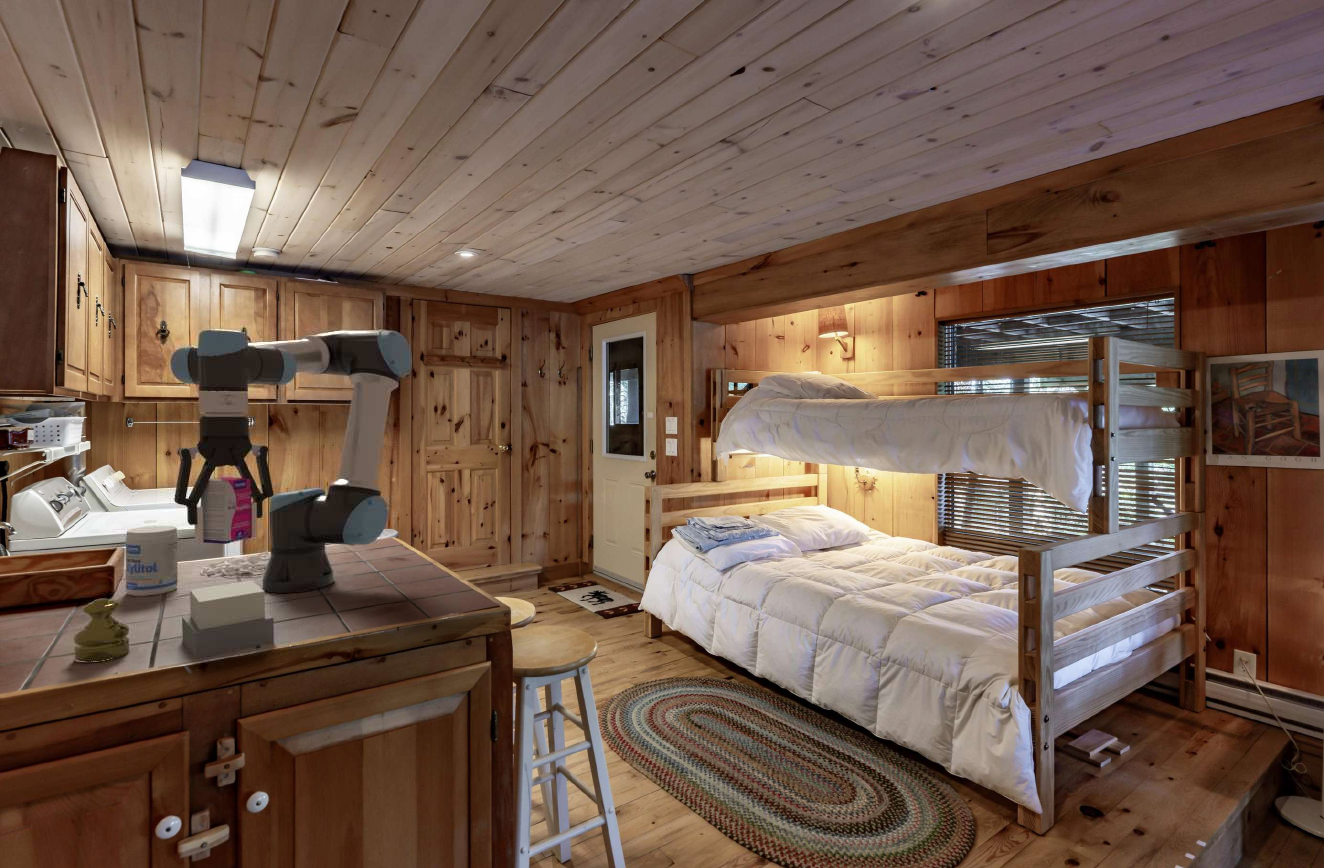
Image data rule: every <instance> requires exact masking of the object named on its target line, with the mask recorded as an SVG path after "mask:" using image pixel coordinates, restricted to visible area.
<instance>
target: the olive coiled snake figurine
mask: <svg viewBox="0 0 1324 868" xmlns="http://www.w3.org/2000/svg"><path fill="white" fill-rule="evenodd" d="M119 607H120V602H119V601H117V600H114V599H108V598H106V597H105V598H104V597H103V598H96V599H94V600H93V601H92V602H89V603H87V604H86V605H84V606H82V609H81V610H82V613H85V614H87V615H88V616H90V618H91V619H90V621H88V622H87V624H85V625H84V627H83V628H82V629H80V630H78V631H77V632H76V633H75V634H74V635H73V643H74V644H76V646H74V648H73V652H74V660H75V659H76V660H79V661H85V662H86V661H87V662H91V661H92V662H93V661H102V660H107V659H111V658H115V659H117V658H116V657H118V656H120V657H122V656H125V655H126V654H127V653H128V652H129V651H130V638H129V637H127V636H128V635H129V632H130V628H129V626H128V625H127V624H125V623H122V622H119V620H117V619H115V618H113V616H112V614H113V612H114V611H115V610H117V609H118V608H119ZM121 655H122V656H121ZM118 658H119V657H118ZM111 660H112V659H111ZM107 661H108V660H107Z"/></svg>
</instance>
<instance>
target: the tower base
mask: <svg viewBox="0 0 1324 868" xmlns="http://www.w3.org/2000/svg"><path fill="white" fill-rule="evenodd" d="M181 618H182V619H181V623H182V624H181V625H182V626H181V628H182V629H181V631H182V642H183V641H184V642H183V644H184V645H185V644H186V645H185V646H186V647H188V648H187V649H188V651H189V652H190V653H191V654H192V656H193V657H194V658H195V660H198V659H203V658H208V657H212V656H217V655H221V654H226V653H230V652H235V651H239V650H245V649H248V648H254V647H257V646H263V645H266V644H271V643H275V636H274V634H275V632H274V631H275V627H274V617H273V616H272V615H271V614H269V613H268V612H267V611H266V610H265V618H262V619H257V620H251V621H246V622H241V623H235V624H230V625H225V626H220V627H214V628H209V629H204V630H199V628H198V627H197V625H196V624H195V622H194V621H193V619H192V618H191V614H190V615H184V616H181Z"/></svg>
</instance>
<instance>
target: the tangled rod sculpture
mask: <svg viewBox="0 0 1324 868" xmlns="http://www.w3.org/2000/svg"><path fill="white" fill-rule="evenodd" d="M268 555H269V550H265V551H263V552H260V553H258V554H257V553H256V554H255V553H251V554H250V555H249V554H248V556H247V557H246V558H245V559H244V558H243V557H241V556H237V557H234V558H232V559H230V558H228V557H226V558H224V559H223V560H222V561H219V562H216V561H212V562H210V563H209V564H206V565H204V566H202V569H201V571H200V575H207V576H213V575H214V574H215V572H219V573H220V574H224V575H233V574H238V573H242V574H246V575H247V574H250V573H252V572H256V571H259V570H261V569H264V568H267V565H268V562H269V559H270V556H268ZM267 556H268V557H267ZM265 561H266V562H265ZM259 562H265V563H259ZM209 567H210V568H209ZM264 570H265V569H264Z"/></svg>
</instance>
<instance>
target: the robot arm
mask: <svg viewBox="0 0 1324 868" xmlns="http://www.w3.org/2000/svg"><path fill="white" fill-rule="evenodd" d="M197 343H198V344H197V345H192V346H191V345H190V346H182V347H180V348H177V349H176V350H175V351H174V352H173V353H172V355H171V357H170V370H171V373H172V375H173V376H174V378H176V379H177V380H178V381H179V382H181V383H183V384H190V385H191V384H193V385H196V386H197V385H198V407H199V408H198V410H199V414H202V416H201V417H200V418H199V420H198V421H199V424H198V425H199V441H198V442H197V444H196V446H191V447H180V448H179V449H178V454H179V455H178V456H179V459H180V465H179V469H178V475H177V482H176V486H175V493H174V499H173V502H175V503H176V504H178V505H181V506H186V508H187V509H186V511H187V513H186V514H187V517H186V518H187V523H188V525H190V526H193V525H194V542H195V543H196V544H199V545H200V544H204V543H203V507H202V506H201V504H200V505H199V502H200V501H201V496H202V494H203V492H204V490H205V488H206V485H207V483H208V481H209V479H211V477H212V474H213V472H214V471H215V470H216V467H218V468H221V467H225V466H229V467H235V469H236V470H237V472H238V473H239V475H240V478H244V479H250V489H251V538H257V537H258V521H257V519H262V517H263V514H264V513H263V512H264V510H263V502H264V500H266V499H268V498H270V502H269V503H270V504H269V511H268V515H269V538H270V539H269V540H270V556H269V557H270V559H269V562H268V565H267V568H266V569H265V571H264V575H263V577H262V590H264V592H267V593H268V592H269V593H275V594H285V593H287V594H289V593H300V592H308V591H313V590H318V589H323V588H324V587H327V586H329V585H332V583H333V582H334V579H335V578H334V571H333V568H332V565H331V562H330V560H329V557H328V554H327V552H326V544H329V545H330V544H331V545H346V546H353V547H354V546H358V545H359V546H366V545H369V544H372V543H374V542H375V541H376V540H377V539H378V538H380V536H381V535H382V534H383V532H384V530H385V528H386V526H387V523H388V519H389V509H388V503H387V501H386V499H385V498H383V497H382V496H381V495H382V489H381V488H379V486H378V485H377V478H378V471H379V465H380V460H381V454H382V447H383V443H384V442H383V441H384V435H385V430H386V423H387V418H388V417H387V416H388V411H389V405H390V400H391V399H390V398H391V394H392V393H391V392H392V391H394V390H395V389H397V388H398V387H399V384H400V379H401V378H404V377H407V376H408V375H409V373H410V372H411V371H412V367H413V366H412V365H413V356H412V350H411V348H410V345H409V343H408V340H407V339H406V338H405V337H404V335H402V334H401V332H398V331H396V330H387V329H379V330H378V329H376V330H375V329H373V330H372V329H370V330H368V329H367V330H349V329H348V330H338V331H332V332H327V333H326V332H325V333H319V334H313V335H304V336H302V337H300V338H299V339H298V340H284V341H271V342H270V341H269V342H268V341H267V342H254V343H253V342H252V343H251V342H250V343H249V342H248V337H247V334H246V333H245V332H242V331H239V330H233V329H232V330H231V329H230V330H229V329H204V330H202V331H200V332H199V333H198V341H197ZM297 373H305V374H307V375H313V376H314V375H335V376H346V377H348V379H349V381H350V382H351V383H352V385H353V390H352V396H351V401H350V407H349V412H348V417H347V418H348V419H347V422H346V423H347V425H346V429H345V433H344V434H345V436H344V442H343V447H342V453H341V456H340V457H341V458H340V461H339V462H340V463H339V468H338V475H337V479H336V480H335V481H333V482H332V483H330V484H329V485H328V490H327V494H326V491H325V489H324V488H323V487H315V488H306V489H298V490H293V491H292V490H291V491H286V492H280V493H276V494H274V489H273V488H274V487H273V483H272V478H271V473H270V470H269V469H270V468H269V463H268V454H269V447H268V446H266V445H262V444H261V445H258V444H257V445H256V444H252V442H251V440H250V433H249V432H250V430H249V429H250V428H249V427H250V426H249V423H250V422H249V420H250V419H249V418H248V416H246V414H248V413H249V395H248V394H249V393H248V392H249V385H259V386H260V385H264V386H265V385H268V386H282V385H286V384H288V383H290V382H291V381H292V380H293V379H294V378H295V376H296V374H297ZM250 452H252V455H253V456H254V457H255V462H256V467H257V471H258V476H259V481H260V485H261V491H260V489H259V487H258V485H257V483H256V481H255V479H254V477H253V476H252V473H251V471H250V469H249V466H248V464H247V463H246V460H245V458H246V457H247V455H248V454H249V453H250ZM197 453H199V455H200V456H202V458H203V459H204V462H203V465H202V466H201V471H200V473H199V475H198V477H197V479H196V481H195V483H194V486H193V488H192V489H191V492H190V494H189V496H188V498H187V495H188V489H189V488H188V487H189V483H190V477H191V471H192V466H193V465H192V463H193V460H194V459H195V458H196V455H197Z"/></svg>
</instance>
